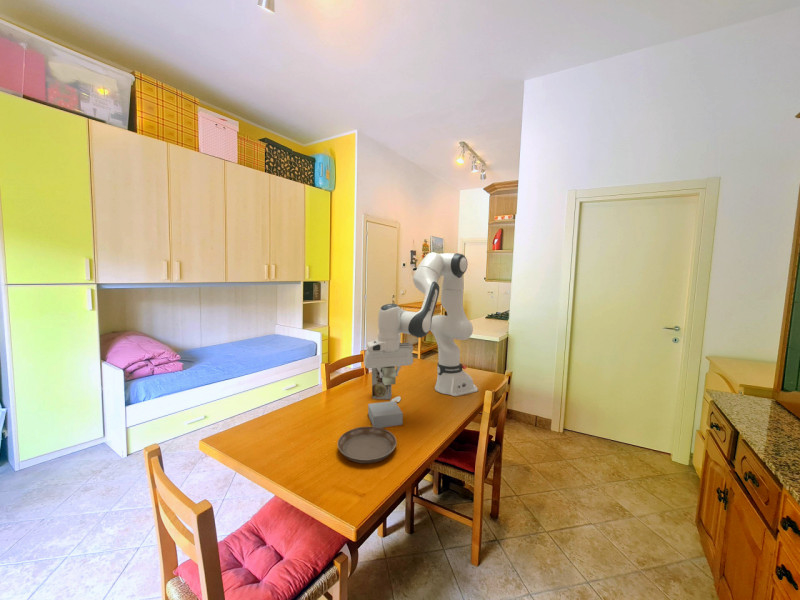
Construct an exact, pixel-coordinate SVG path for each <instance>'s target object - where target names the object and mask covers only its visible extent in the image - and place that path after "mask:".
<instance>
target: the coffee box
mask: <svg viewBox="0 0 800 600" xmlns="http://www.w3.org/2000/svg"><path fill="white" fill-rule="evenodd" d="M380 371H381V372H382V367H381V370H380ZM371 393H372V395H371V397H372V399H373V400H391V398H392V395H393V394H392V385H384V383H383V382H382V378H380V373H379V371H378V370H377V368H371Z"/></svg>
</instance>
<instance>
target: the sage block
mask: <svg viewBox="0 0 800 600" xmlns="http://www.w3.org/2000/svg"><path fill="white" fill-rule="evenodd" d="M396 369H397V367H396V366H393V367H382V372H383V373H384V378H382V382H383V383H384V385H391V386H393V385H396V383H397V382H396V377H397V376H396Z"/></svg>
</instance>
